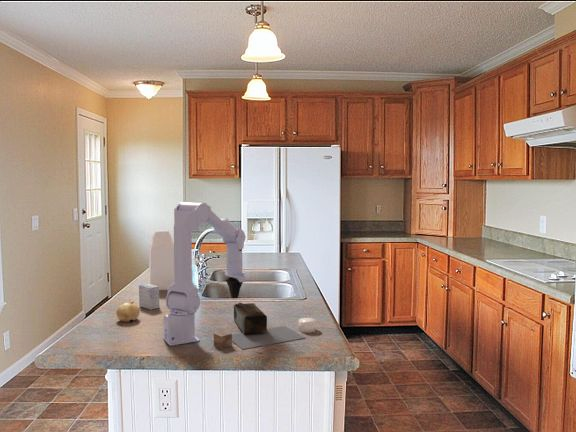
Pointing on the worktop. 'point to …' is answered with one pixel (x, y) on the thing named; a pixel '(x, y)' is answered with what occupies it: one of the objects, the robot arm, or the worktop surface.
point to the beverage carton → (250, 318)
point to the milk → (161, 260)
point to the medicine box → (149, 296)
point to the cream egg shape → (307, 325)
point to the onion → (127, 312)
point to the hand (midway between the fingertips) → (234, 297)
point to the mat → (265, 337)
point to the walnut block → (222, 339)
